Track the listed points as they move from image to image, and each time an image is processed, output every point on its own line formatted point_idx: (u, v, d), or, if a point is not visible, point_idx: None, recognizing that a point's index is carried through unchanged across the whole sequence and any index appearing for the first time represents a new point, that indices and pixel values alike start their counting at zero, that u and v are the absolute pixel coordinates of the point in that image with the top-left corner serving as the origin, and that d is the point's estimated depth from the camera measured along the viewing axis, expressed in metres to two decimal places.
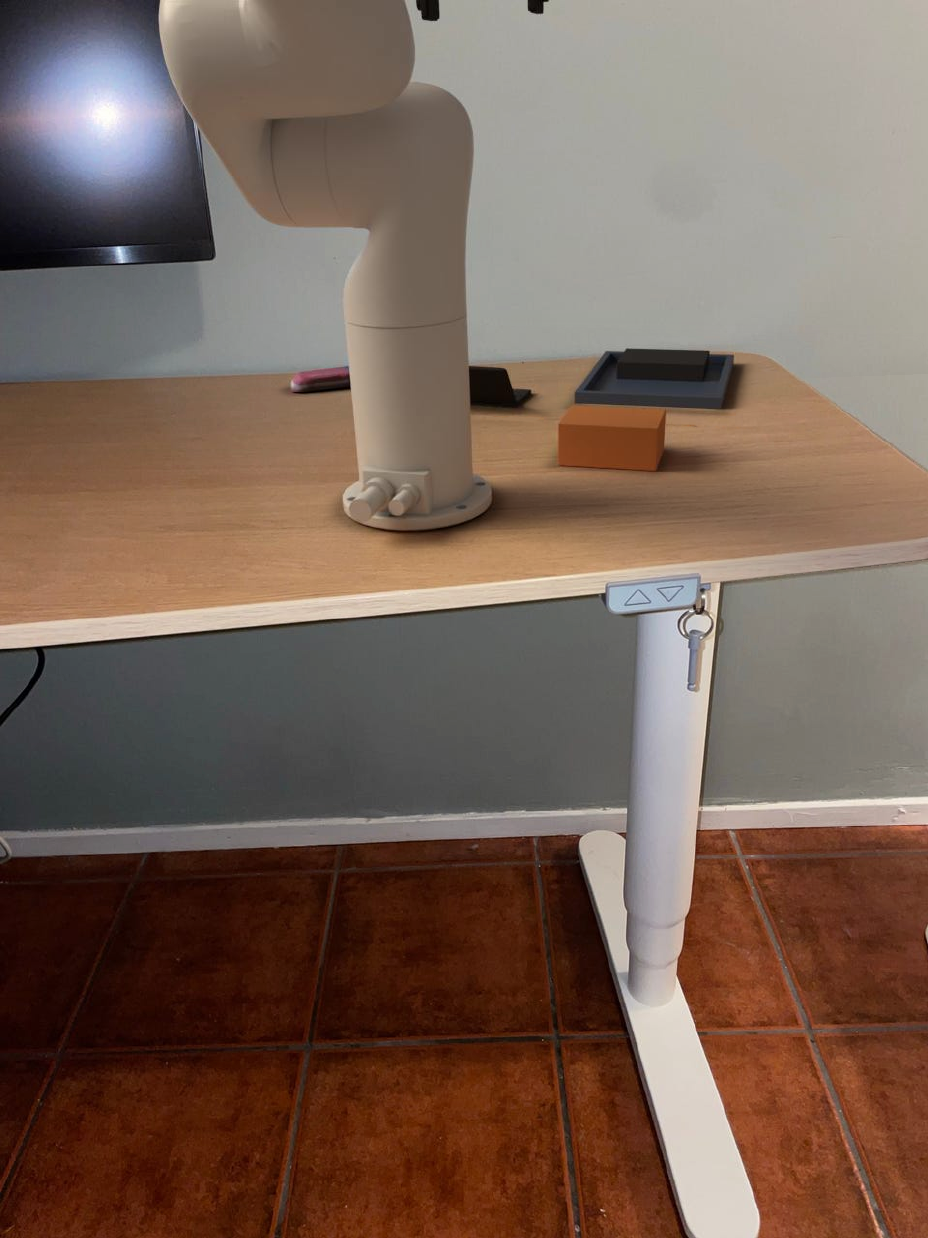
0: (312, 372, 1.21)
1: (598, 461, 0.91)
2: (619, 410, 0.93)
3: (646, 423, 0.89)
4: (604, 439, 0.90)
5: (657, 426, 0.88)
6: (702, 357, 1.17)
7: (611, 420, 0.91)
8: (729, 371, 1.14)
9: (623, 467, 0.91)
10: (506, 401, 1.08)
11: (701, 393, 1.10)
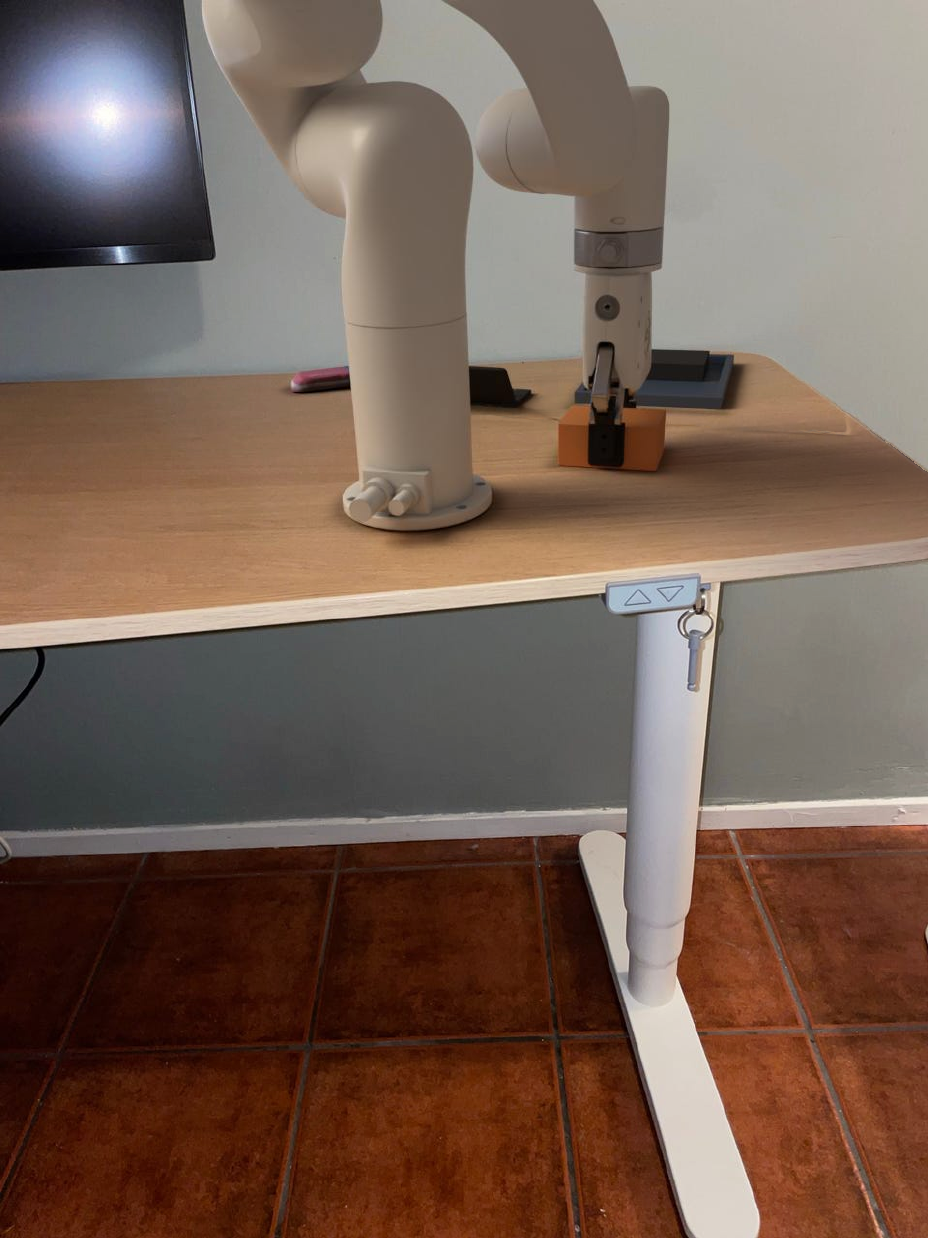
0: (313, 372, 1.21)
1: None
2: None
3: (646, 423, 0.89)
4: None
5: (657, 426, 0.88)
6: (702, 357, 1.17)
7: None
8: (729, 371, 1.14)
9: (623, 467, 0.91)
10: (506, 401, 1.08)
11: (701, 393, 1.10)
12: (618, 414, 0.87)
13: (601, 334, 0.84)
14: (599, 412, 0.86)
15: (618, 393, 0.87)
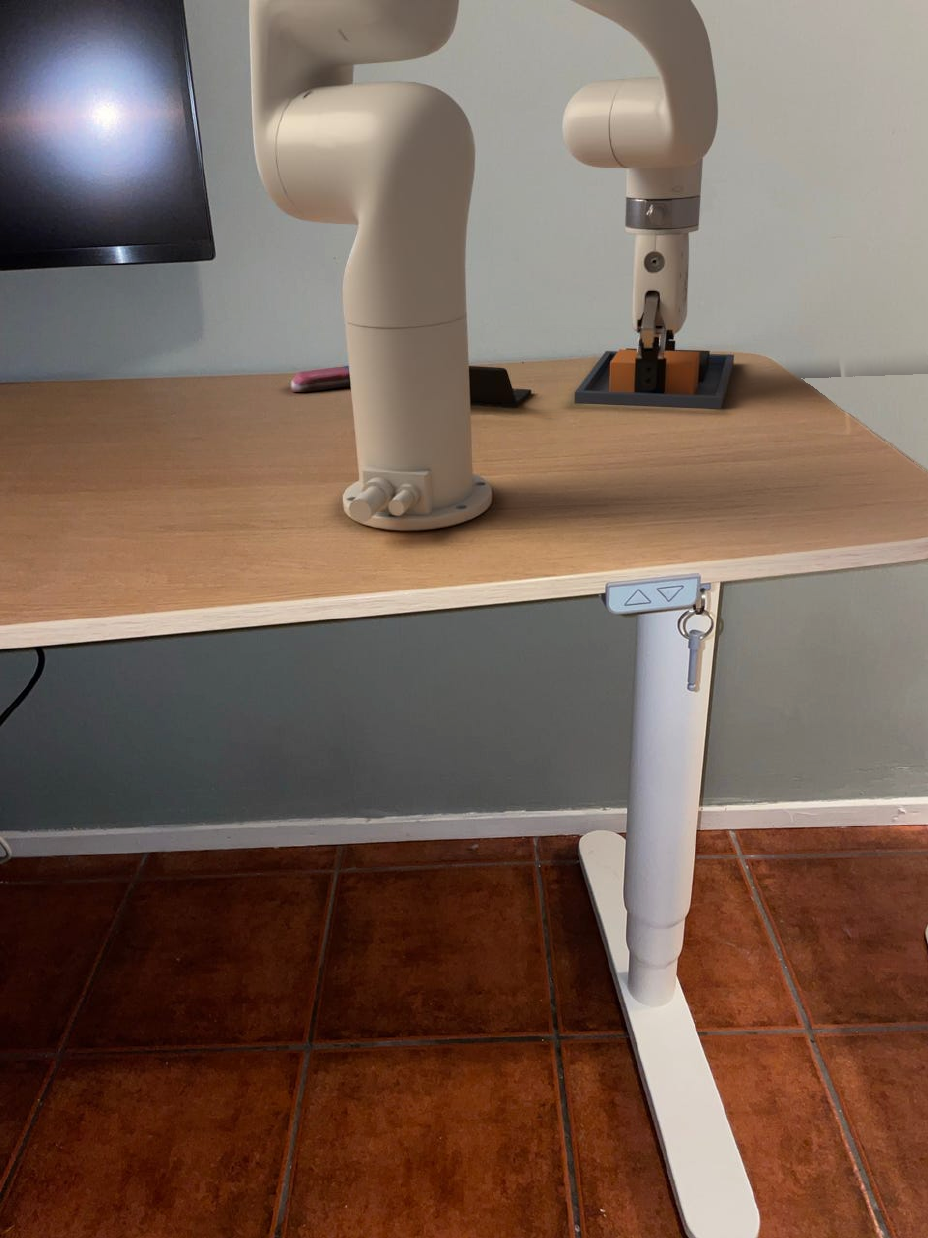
0: (313, 372, 1.21)
1: None
2: None
3: (684, 361, 1.07)
4: None
5: (694, 363, 1.06)
6: (702, 357, 1.17)
7: None
8: (729, 371, 1.14)
9: None
10: (506, 401, 1.08)
11: (701, 393, 1.10)
12: (661, 349, 1.04)
13: (648, 284, 1.02)
14: (645, 348, 1.03)
15: (661, 332, 1.04)
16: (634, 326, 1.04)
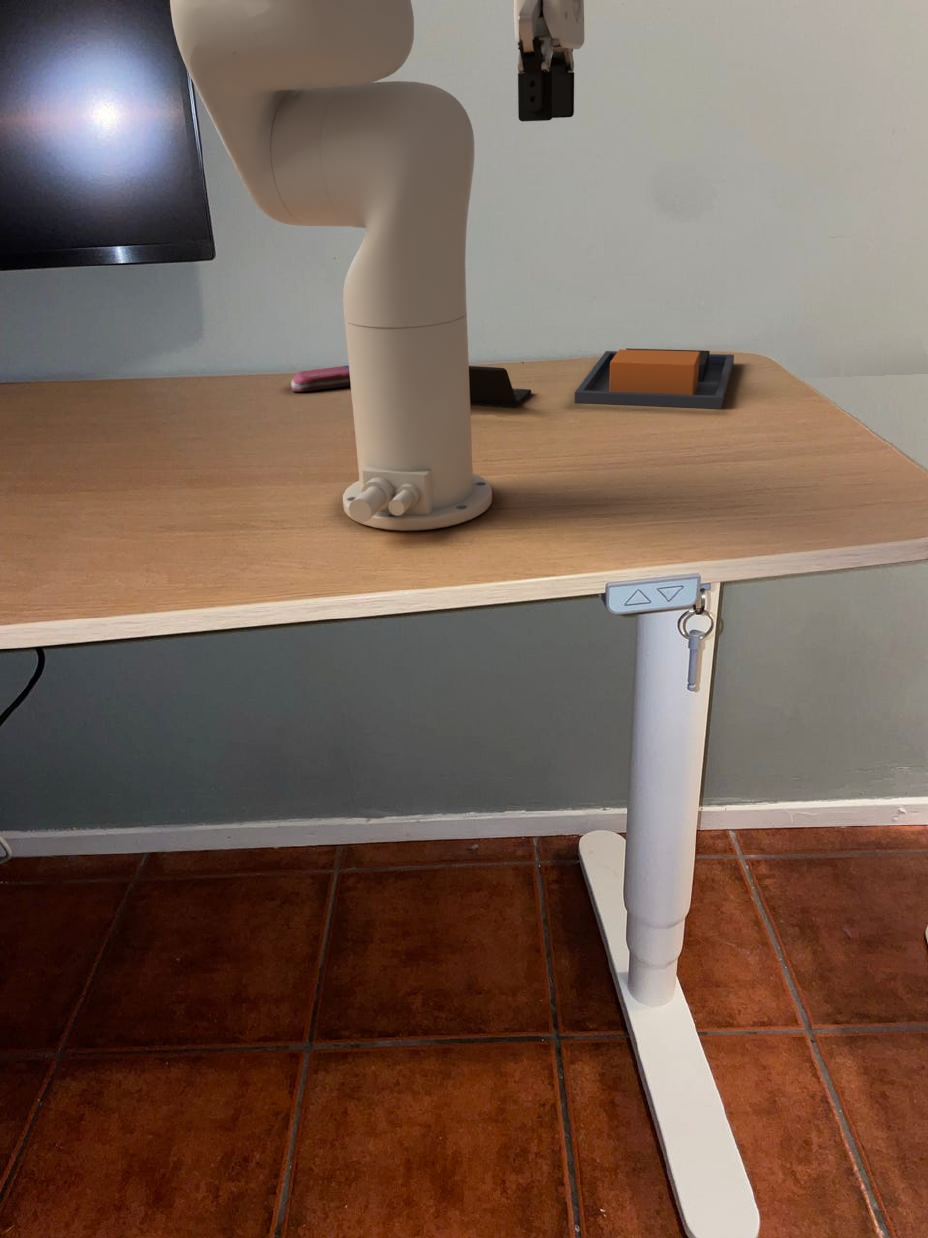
0: (313, 371, 1.21)
1: None
2: (660, 352, 1.11)
3: (684, 361, 1.07)
4: (649, 374, 1.08)
5: (694, 363, 1.06)
6: (702, 357, 1.17)
7: (655, 359, 1.08)
8: (729, 371, 1.14)
9: None
10: (506, 401, 1.08)
11: (701, 393, 1.10)
12: (545, 56, 0.90)
13: None
14: (525, 50, 0.89)
15: (546, 39, 0.90)
16: (516, 37, 0.91)
